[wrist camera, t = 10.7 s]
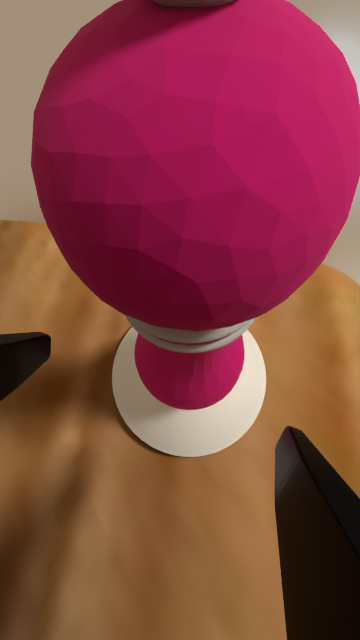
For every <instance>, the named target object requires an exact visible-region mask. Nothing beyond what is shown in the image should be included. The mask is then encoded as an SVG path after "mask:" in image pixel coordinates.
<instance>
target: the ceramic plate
mask: <svg viewBox="0 0 360 640" xmlns="http://www.w3.org/2000/svg"><path fill="white" fill-rule="evenodd" d="M137 335H138V332H137V331H136V330H135V329H134V328H133V327H132V328H131V329H130V330H129V331H128V332H127V334H126V335H125V337H124V338H123V340H122V342H121V344H120V345H119V348H118V350H117V353H116V355H115V359H114V363H113V370H112V387H113V394H114V398H115V402H116V405H117V407H118V410H119V412H120V414H121V416H122V418H123V419H124V421H125V423H126V424H127V425H128V427H129V428H130V429H131V430H132V431H133V433H134V434H135V435H137V436H138V437H139V438H140V439H141V440H142V441H144V442H145V443H147V444H148V445H150V446H151V447H153V448H155V449H157V450H159V451H162V452H164V453H168V454H171V455H176V456H183V457H197V456H203V455H209V454H212V453H215V452H218V451H220V450H222V449H224V448H226V447H228V446H230V445H231V444H233V443H234V442H235V441H237V440H238V439H239V438H240V437H241V436H243V435H244V434H245V433H246V432H247V430H248V429H249V428H250V427H251V425H252V424H253V423H254V421H255V419H256V417H257V415H258V414H259V411H260V409H261V406H262V404H263V400H264V395H265V389H266V371H265V365H264V360H263V357H262V354H261V351H260V349H259V347H258V345H257V343H256V341H255V339H254V338H253V336H252V335H251V333H250V332H249V331H248V330H246V331H245V332H244V333H243V334H242V337H243V343H244V351H245V354H244V364H243V369H242V372H241V374H240V376H239V378H238V381H237V383H236V385H235V386H234V387H233V389H232V390H231V392H230V393H229V394H228V395H226V396H225V397H224V398H223V399H222V400H220V401H219V402H217V403H216V404H214V405H212V406H209V407H206V408H203V409H198V410H182V409H177V408H173V407H170V406H168V405H166V404H164V403H162V402H160V401H159V400H158V399H156V398H155V397H154V396H153V395H152V394H151V393H150V392H149V391H148V390H147V388H146V387H145V385H144V384H143V382H142V380H141V378H140V376H139V374H138V371H137V368H136V365H135V356H134V352H135V343H136V339H137Z"/></svg>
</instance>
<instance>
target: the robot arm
mask: <svg viewBox="0 0 360 640" xmlns="http://www.w3.org/2000/svg"><path fill="white" fill-rule="evenodd" d="M50 353H51V337H50V336H49V335H47V334H45V333H42V332H29V333H15V334H2V335H0V401H1V400H3V399H4V398H5V397H6V396H8V395H9V394H10V393H11V392H13V391H14V390H15V389H16V388H17V387H19V386H20V385H21V384H22V383H23V382H24V381H25V380H26V379H27V378H28V377H29V376H31V375H32V374H33V373H34V372H35V371H36V370H37V369H38V368H39V367H40V366H41V365H42V364H43V363H45V362H46V361H47V360H48V358H49V357H50ZM275 513H276V524H277V534H278V545H279V556H280V567H281V578H282V589H283V600H284V611H285V622H286V632H287V640H360V499H359V497H358V496H357V495H356V494H355V493H354V491H353V490H352V489H351V488H350V487H349V486H348V484H347V483H346V482H345V481H344V480H343V479H342V477H341V476H340V475H339V474H338V473H337V472H336V470H335V469H334V468H333V467H332V466H331V465H330V463H329V462H328V461H327V460H326V459H325V458H324V456H323V455H322V454H321V453H320V452H319V450H318V449H317V448H316V447H315V446H314V445H313V443H312V442H311V441H310V440H309V439H308V438H307V436H306V435H305V434H304V433H303V432H302V431H301V430H299V429H297V428H294V427H291V426H287V427H286V428H285V429H284V431H283V433H282V435H281V437H280V438H279V440H278V442H277V445H276V449H275Z"/></svg>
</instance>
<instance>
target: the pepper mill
mask: <svg viewBox="0 0 360 640" xmlns="http://www.w3.org/2000/svg"><path fill="white" fill-rule="evenodd" d="M31 167H32V172H33V176H34V180H35V185H36V190H37V195H38V199H39V204H40V208H41V210H42V213H43V216H44V218H45V221H46V223H47V226H48V228H49V230H50V232H51V234H52V236H53V238H54V240H55V241H56V243H57V245H58V247H59V249H60V251H61V253H62V255H63V256H64V258H65V260H66V261H67V263H68V265H69V266H70V268H71V269H72V270H73V271H74V273H75V274H76V275H77V276H78V277H79V278H80V279H81V280H82V282H83V283H84V284H85V285H86V286H87V287H88V288H89V289H90V290H91V291H92V292H93V293H94V294H95V295H97V296H98V297H99V298H100V299H101V300H102V301H103V302H105V303H107V304H108V305H110V306H111V307H113V308H115V309H116V310H118V311H119V312H121V313H123V314H124V315H125V316H126V317H127V319H128V321H129V322H130V324H131V325H132V327H133V328H134V329H135V330H136V331H137V332H138V335H137V339H136V343H135V352H134V356H135V365H136V368H137V371H138V374H139V376H140V378H141V380H142V382H143V384H144V385H145V387H146V388H147V390H148V391H149V392H150V393H151V394H152V395H153V396H154V397H155V398H156V399H158V400H159V401H160V402H162V403H164V404H166V405H168V406H170V407H173V408H177V409H182V410H198V409H203V408H206V407H209V406H212V405H214V404H216V403H217V402H219V401H220V400H222V399H223V398H224V397H225V396H226V395H228V394H229V393H230V392H231V390H232V389H233V387H234V386H235V385H236V383H237V381H238V378H239V376H240V374H241V372H242V369H243V364H244V354H245V351H244V343H243V337H242V334H243V333H244V332H245V331H246V330H247V329H248V328H249V327H250V325H251V324H252V323H253V321H254V319H255V318H256V317H258V316H260V315H262V314H264V313H266V312H268V311H269V310H271V309H273V308H274V307H276V306H277V305H279V304H280V303H282V302H283V301H285V300H286V299H287V298H288V297H289V296H290V295H291V294H292V293H294V292H295V291H296V290H297V289H298V288H299V287H300V286H301V285H302V284H303V283H304V282H305V281H306V280H307V279H308V278H309V277H310V276H311V275H312V274H313V273H314V272H315V270H316V269H317V268H318V267H319V265H320V264H321V263H322V261H323V260H324V259H325V257H326V255H327V254H328V251H329V250H330V248H331V247H332V245H333V243H334V241H335V240H336V238H337V236H338V235H339V233H340V231H341V229H342V227H343V226H344V224H345V222H346V220H347V217H348V214H349V211H350V208H351V204H352V201H353V197H354V194H355V190H356V187H357V184H358V180H359V176H360V104H359V98H358V92H357V86H356V82H355V80H354V78H353V75H352V73H351V71H350V69H349V66H348V64H347V62H346V60H345V57H344V55H343V53H342V52H341V51H340V50H339V48H338V47H337V46H336V45H335V44H334V43H333V41H332V40H331V39H330V38H329V37H328V36H327V35H326V33H325V32H324V31H323V30H322V29H321V27H320V26H319V25H317V24H316V23H315V22H314V21H312V20H311V19H310V18H309V17H308V16H306V15H305V14H304V13H303V12H301V11H300V10H299V9H297V8H296V7H295V6H294V5H293V4H291V3H290V2H287V1H285V0H123V1H120V2H118V3H115V4H114V5H112V6H111V7H110V8H108V9H107V10H105V11H104V12H103V13H101V14H100V15H98V16H97V17H96V18H94V19H93V20H92V21H91V22H89V23H87V24H86V25H85V26H83V27H82V28H81V29H80V30H79V31H78V33H77V34H76V35H75V36H74V38H73V39H72V40H71V41H70V43H69V44H68V45H67V46H66V47H65V49H64V50H63V51H62V53H61V54H60V56H59V57H58V59H57V60H56V61H55V63H54V64H53V66H52V67H51V69H50V71H49V74H48V76H47V79H46V81H45V84H44V87H43V90H42V92H41V95H40V97H39V100H38V103H37V105H36V108H35V111H34V121H33V139H32V156H31Z"/></svg>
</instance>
